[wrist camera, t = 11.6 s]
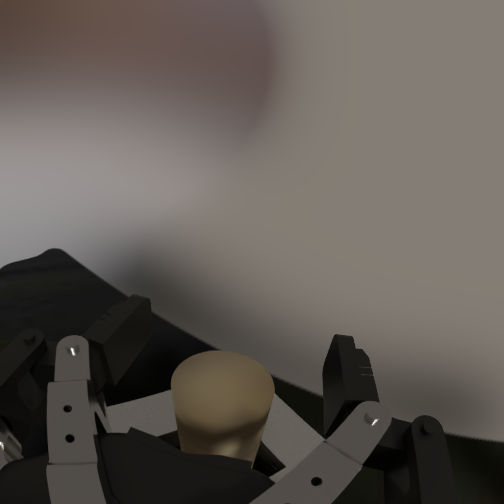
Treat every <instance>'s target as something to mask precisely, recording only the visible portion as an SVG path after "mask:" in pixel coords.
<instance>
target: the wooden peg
mask: <svg viewBox="0 0 504 504" xmlns="http://www.w3.org/2000/svg"><path fill="white" fill-rule="evenodd" d="M171 390H172V398H173V405H174V411H175V418H176V424H177V430H178V435H179V441H180V446H181V451H183V452H185V453H189V454H205V455H223V456H227V457H232V458H237V459H242V460H248V461H252V466H253V463H254V460H255V457H256V454H257V451H258V448H259V445H260V441H261V438H262V435H263V432H264V428H265V425H266V422H267V418H268V415H269V412H270V408H271V405H272V401H273V397H274V391H275V388H274V383H273V380H272V378H271V376H270V374H269V373H268V371H267V370H266V369H265V368H264V367H263V366H262V365H261V364H260V363H258V362H257V361H255V360H253V359H252V358H250V357H247V356H245V355H242V354H239V353H235V352H230V351H208V352H203V353H199V354H196V355H193V356H191V357H189V358H188V359H186V360H185V361H183V362H182V363H181V364H180V365H179V366H178V367H177V368H176V370H175V371H174V374H173V376H172V380H171ZM252 466H251V469H252Z"/></svg>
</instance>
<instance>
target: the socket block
mask: <svg viewBox="0 0 504 504" xmlns="http://www.w3.org/2000/svg"><path fill="white" fill-rule="evenodd" d="M106 408H107V414H108V419H109V424H110V427H111V430H112V433H116V432H118V433H127V432H128V431H129V429H130V427H133V428H136V429H138V430H141V431H143V432H146V433H148V434H151V435H154V436H157V437H159V438H160V439H162V440H164V441H165V442H167V443H169V444H170V445H172V446H174V447H176V448H177V449H179V450H181V446H180V441H179V435H178V430H177V424H176V418H175V411H174V405H173V398H172V390H168V391H165V392H162V393H158V394H155V395H151V396H148V397H144V398H141V399H137V400H133V401H129V402H126V403H122V404H117V405H113V406H109V407H106ZM324 440H325V439H324V438H323V437H321V436H320V435H319V434H318V433H317V432H316V431H315V430H313V429H312V428H311V427H310V426H309V425H308V424H307V423H306V422H305V421H303V420H302V419H301V418H300V417H299V416H298V415H297V414H296V413H295V412H294V411H293V410H292V409H290V408H289V407H288V406H287V405H286V404H285V403H284V402H283V401H282V400H281V399H280V398H279V397H278V396H277V395H276V394H275V393H274V397H273V401H272V405H271V408H270V412H269V415H268V418H267V422H266V425H265V428H264V432H263V435H262V438H261V441H260V445H259V448H258V451H257V454H256V457H255V460H254V463H253V466H252V469H254V470H256V471H258V472H260V473H262V474H264V475H266V476H267V477H269V478H270V479H271V480H273V481H274V482H275V483H277V482H278V481H279V480H280V479H282V478H283V477H284V476H285V475H286V474H288V473H289V472H290V471H291V470H292V469H293V468H295V467H296V466H297V465H298V464H299V463H300V462H301V461H302V460H303V459H304V458H306V457H307V456H308V455H309V454H310V453H311V452H312V451H313V450H314V449H315V448H316V447H317V446H318V445H319V444H320V443H321V442H323V441H324ZM325 441H326V440H325ZM360 470H361V469H360ZM360 470H359V471H360Z"/></svg>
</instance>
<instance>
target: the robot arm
mask: <svg viewBox="0 0 504 504" xmlns="http://www.w3.org/2000/svg"><path fill="white" fill-rule="evenodd" d="M152 330H153V323H152V312H151V302H150V299H149V298H146V297H142V296H139V295H135V294H133V295H131V296H130V297H129V298H128V299H127V300H126V301H125V302H124V303H123V302H121V303H118V304H116V305H114V306H112V307H111V308H110V309H109V310H108V311H107V312H106V313H105V314H104V315H102V316H101V317H100V319H98V320H97V321H96V322H95V323H94V324H93V325H92V326H91V327H90V328H89V329H88V330H87V331H86V332H85V333H84V334H83V335H82V336H76V335H73V336H68V337H65V338H63V339H62V340H61V341H60V342H59V343H56V342H50V341H45V338H44V335H43V333H42V332H41V331H40V330H38V329H27V330H25V331H23V332H21V333H20V334H19V335H18V336H17V337H16V338H15V339H14V340H13V341H12V342H11V343H10V344H9V345H8V346H6V347H5V348H4V349H3V350H2V351H1V352H0V504H331V503H332V502H333V501H334V500H335V499H336V498H337V497H338V495H339V494H340V493H341V492H342V491H343V490H344V489H345V487H346V486H347V485H348V484H349V483H350V482H351V480H352V479H353V478H354V477H355V475H356V474H357V473H358V472H359V470H360V469H361V468H362V466H365V467H369V468H373V469H377V479H378V504H458V502H457V494H456V488H455V482H454V476H453V471H452V466H451V461H450V456H449V452H448V447H447V443H446V439H445V435H444V431H443V428H442V426H441V424H440V423H439V421H437V420H436V419H435V418H433V417H431V416H427V415H423V416H419V417H417V418H416V419H415V420H414V421H413V422H412V423H410V422H406V421H402V420H398V419H395V418H393V417H391V414H390V412H389V410H388V409H387V408H386V407H385V406H384V405H382V404H381V403H380V402H379V398H378V393H377V389H376V384H375V380H374V376H373V372H372V369H371V364H370V360H369V357H368V356H367V355H366V353H365V352H364V351H363V350H362V349H356V348H355V343H354V339H353V337H352V336H346V335H338V334H335V335H334V337H333V339H332V342H331V345H330V348H329V351H328V354H327V356H326V359H325V362H324V366H323V374H322V376H323V400H324V436H330V437H329V438H328V439H327V440H326V441H325V440H324V441H323V442H321V443H320V444H319V445H318V446H317V447H316V448H315V449H314V450H313V451H312V452H311V453H310V454H309V455H308V456H307V457H306V458H304V459H303V460H302V461H301V462H300V463H299V464H298V465H297V466H296V467H295V468H293V469H292V470H291V471H290V472H289V473H288V474H286V475H285V476H284V477H283V478H282V479H280V480H279V481H278V482H277V483H275V482H274V481H273V480H271V479H270V478H269V477H267V476H266V475H264V474H262V473H260V472H258V471H256V470H254V469H251V466H252V461H248V460H242V459H237V458H232V457H227V456H223V455H205V454H189V453H185V452H183V451H181V450H179V449H177V448H176V447H174V446H172V445H170V444H169V443H167V442H165V441H164V440H162V439H160V438H159V437H157V436H154V435H151V434H148V433H146V432H143V431H141V430H138V429H136V428H133V427H130V429H129V431H128V432H127V433H118V432H116V433H112V430H111V427H110V424H109V419H108V414H107V408H106V402H105V396H104V390H103V385H104V384H105V383H108V384H111V385H113V386H116V384H117V383H118V382H119V380H120V379H121V377H122V376H123V375H124V373H125V372H126V370H127V369H128V368H129V366H130V365H131V364H132V362H133V361H134V359H135V358H136V357H137V355H138V354H139V353H140V351H141V350H142V348H143V347H144V346H145V344H146V343H147V342H148V340H149V339H150V337H151V335H152ZM28 371H30V373H31V375H32V377H31V378H30V380H29V381H28V382H27V383H26V384H25V386H24V387H23V388H22V389H21V390H20V392H19V393H18V392H17V385H18V382H19V381H20V380H21V379H22V378H23V376H24V375H25V374H26V373H27V372H28ZM46 408H47V434H48V450H49V451H48V452H45V453H41V454H37V455H34V456H30V457H26V458H23V456H22V454H21V445H22V443H23V442H24V440H25V439H26V437H27V436H28V434H29V433H30V431H31V430H32V428H33V427H34V425H35V424H36V423H37V421H38V420H39V418H40V417H41V415H42V414H43V413H44V411H45V410H46Z"/></svg>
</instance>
